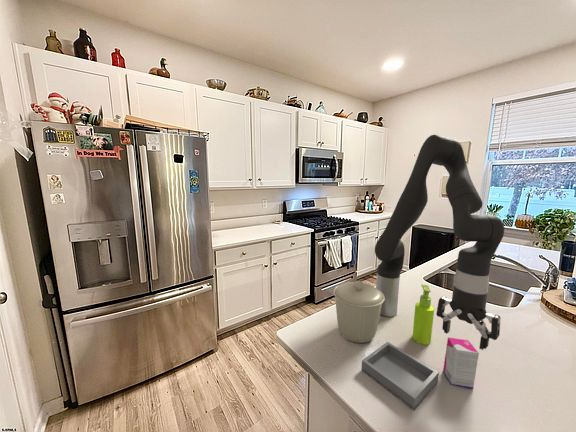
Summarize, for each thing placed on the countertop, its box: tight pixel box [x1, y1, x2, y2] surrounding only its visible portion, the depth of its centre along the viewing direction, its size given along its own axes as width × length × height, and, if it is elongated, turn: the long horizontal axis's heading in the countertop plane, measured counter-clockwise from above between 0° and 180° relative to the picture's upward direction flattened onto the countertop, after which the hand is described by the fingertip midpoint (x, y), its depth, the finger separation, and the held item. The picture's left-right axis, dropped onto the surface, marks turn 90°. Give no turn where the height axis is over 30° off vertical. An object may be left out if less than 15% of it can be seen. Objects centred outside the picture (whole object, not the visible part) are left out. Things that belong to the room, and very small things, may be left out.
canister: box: [332, 280, 385, 344], centre depth 89 cm, size 18×18×21 cm
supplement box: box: [442, 337, 480, 390], centre depth 70 cm, size 6×6×12 cm
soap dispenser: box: [411, 284, 435, 346], centre depth 87 cm, size 6×7×20 cm
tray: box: [361, 341, 440, 411], centre depth 71 cm, size 16×14×4 cm
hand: (463, 339), depth 69 cm, fingers open, 8 cm apart
